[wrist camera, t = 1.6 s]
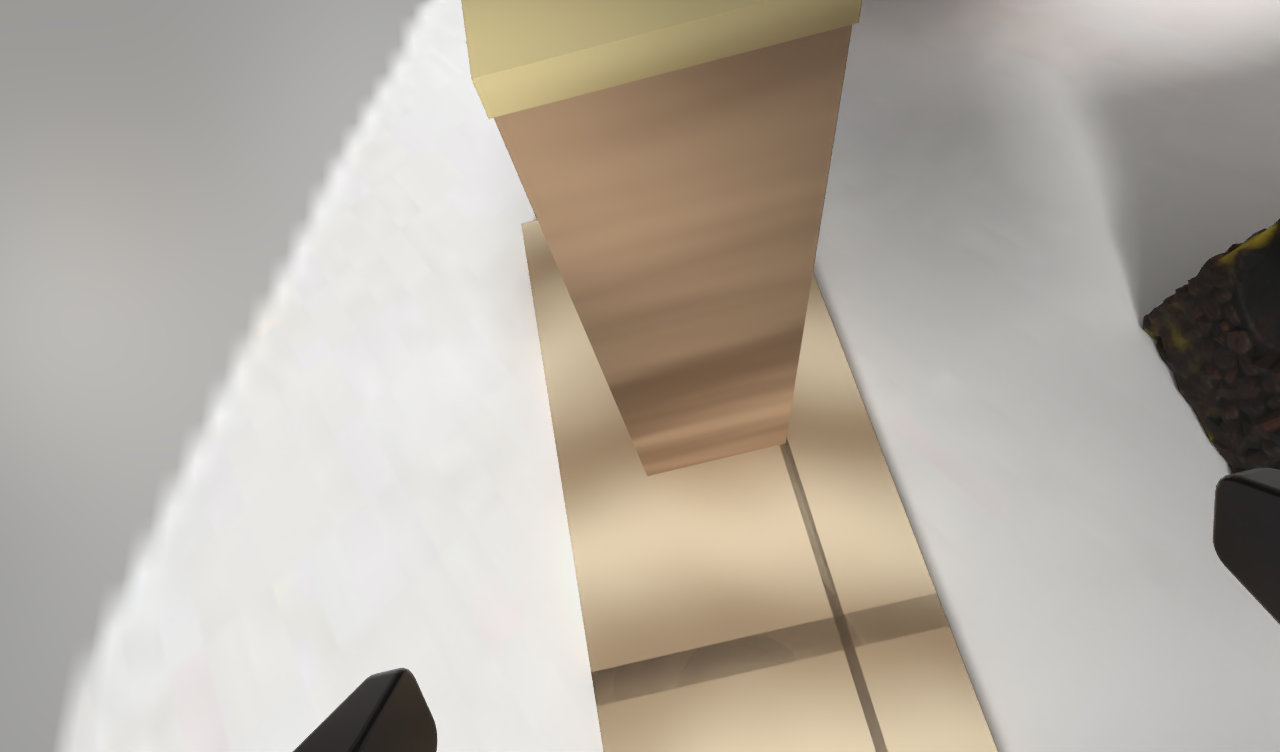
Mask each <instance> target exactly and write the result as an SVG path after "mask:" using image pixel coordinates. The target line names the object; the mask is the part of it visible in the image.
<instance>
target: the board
mask: <svg viewBox="0 0 1280 752" xmlns="http://www.w3.org/2000/svg"><path fill="white" fill-rule="evenodd" d="M522 231H523V237H524V244H525V250H526V257H527V263H528V269H529V276H530V282H531V289H532V295H533V302H534V308H535V314H536V321H537V327H538V334H539V340H540V346H541V353H542V359H543V366H544V372H545V379H546V385H547V391H548V398H549V404H550V411H551V417H552V423H553V430H554V436H555V443H556V449H557V456H558V462H559V468H560V475H561V481H562V488H563V494H564V501H565V507H566V513H567V520H568V526H569V533H570V539H571V545H572V552H573V558H574V565H575V571H576V578H577V584H578V590H579V597H580V603H581V610H582V616H583V622H584V629H585V635H586V642H587V648H588V655H589V661H590V667H591V674H592V680H593V687H594V693H595V700H596V706H597V712H598V719H599V725H600V732H601V738H602V744H603V751H604V752H998V751H997V748H996V746H995V743H994V741H993V738H992V736H991V733H990V730H989V728H988V725H987V723H986V720H985V717H984V715H983V712H982V710H981V707H980V704H979V702H978V699H977V697H976V694H975V691H974V689H973V686H972V684H971V681H970V678H969V676H968V673H967V671H966V668H965V666H964V663H963V660H962V658H961V655H960V653H959V650H958V647H957V645H956V642H955V640H954V637H953V634H952V632H951V629H950V627H949V624H948V621H947V619H946V616H945V614H944V611H943V608H942V606H941V603H940V601H939V598H938V596H937V593H936V590H935V588H934V585H933V583H932V580H931V577H930V575H929V572H928V570H927V567H926V564H925V562H924V559H923V557H922V554H921V551H920V549H919V546H918V544H917V541H916V538H915V536H914V533H913V531H912V528H911V526H910V523H909V520H908V518H907V515H906V513H905V510H904V507H903V505H902V502H901V500H900V497H899V494H898V492H897V489H896V487H895V484H894V481H893V479H892V476H891V474H890V471H889V468H888V466H887V463H886V461H885V458H884V455H883V453H882V450H881V448H880V445H879V443H878V440H877V437H876V435H875V432H874V430H873V427H872V424H871V422H870V419H869V417H868V414H867V411H866V409H865V406H864V404H863V401H862V398H861V396H860V393H859V391H858V388H857V385H856V383H855V380H854V378H853V375H852V373H851V370H850V367H849V365H848V362H847V360H846V357H845V354H844V352H843V349H842V347H841V344H840V341H839V339H838V336H837V334H836V331H835V328H834V326H833V323H832V321H831V318H830V315H829V313H828V310H827V308H826V305H825V303H824V300H823V297H822V295H821V292H820V290H819V287H818V284H817V282H816V279H815V277H814V274H812V280H811V287H810V293H809V299H808V305H807V312H806V318H805V324H804V330H803V337H802V343H801V349H800V355H799V362H798V368H797V374H796V381H795V387H794V393H793V399H792V406H791V412H790V418H789V424H788V431H787V437H786V443H785V444H780V445H776V446H772V447H768V448H764V449H760V450H755V451H751V452H747V453H743V454H739V455H735V456H730V457H726V458H722V459H718V460H714V461H709V462H705V463H701V464H697V465H693V466H689V467H684V468H680V469H676V470H672V471H668V472H664V473H659V474H655V475H651V476H647V474H646V472H645V470H644V467H643V465H642V463H641V460H640V458H639V456H638V453H637V451H636V449H635V446H634V444H633V442H632V439H631V437H630V435H629V432H628V430H627V428H626V425H625V423H624V421H623V418H622V416H621V414H620V411H619V409H618V407H617V404H616V402H615V400H614V397H613V395H612V393H611V390H610V388H609V386H608V383H607V381H606V379H605V376H604V374H603V372H602V369H601V367H600V365H599V362H598V360H597V358H596V355H595V353H594V351H593V348H592V346H591V344H590V341H589V339H588V337H587V334H586V332H585V330H584V327H583V325H582V323H581V320H580V318H579V316H578V313H577V311H576V309H575V306H574V304H573V302H572V299H571V297H570V295H569V292H568V290H567V288H566V285H565V283H564V281H563V278H562V276H561V274H560V271H559V269H558V267H557V264H556V262H555V260H554V257H553V255H552V253H551V250H550V248H549V246H548V243H547V241H546V239H545V236H544V234H543V232H542V229H541V227H540V225H539V222H538V220H535V221H531V222H527V223H523V224H522Z"/></svg>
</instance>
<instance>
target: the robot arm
mask: <svg viewBox="0 0 1280 752" xmlns="http://www.w3.org/2000/svg"><path fill="white" fill-rule="evenodd" d="M1213 544H1214V548H1215V550H1216V553H1217V555H1218V557H1219V558H1220V560H1221V561H1222V563H1223V564H1224V565H1225V566H1226V568H1227V569H1228V570H1229V571H1230V572H1231V573H1232V574H1233V575H1234V576H1235V577H1236V578H1237V579H1238V580H1239V581H1240V582H1241V584H1242V585H1243V586H1244V587H1245V588H1246V589H1247V590H1248V591H1249V592H1250V593H1251V594H1252V595H1253V596H1254V597H1255V599H1256V600H1257V601H1258V602H1259V603H1260V604H1261V605H1262V606H1263V607H1264V608H1265V609H1266V610H1267V611H1268V612H1269V613H1270V615H1271V616H1272V617H1273V618H1274V619H1275V620H1276V621H1277V622H1278V623H1279V624H1280V470H1278V469H1273V468H1255V469H1251V470H1247V471H1242V472H1238V473H1234V474H1230V475H1227V476H1225V477H1223V478H1221V479H1220V481H1219V482H1218V484H1217V486H1216V490H1215V507H1214V525H1213ZM436 751H437V731H436V726H435V722H434V719H433V717H432V714H431V712H430V710H429V708H428V706H427V703H426V701H425V699H424V697H423V695H422V692H421V690H420V688H419V686H418V684H417V681H416V679H415V677H414V676H413V674H412V673H411V672H410V671H409V670H408V669H405V668H398V669H394V670H390V671H386V672H381V673H377V674H374V675H371V676H370V677H368V678H367V679H366V680H365V681H364V682H363V683H362V684H361V685H360V686H359V687H358V688H357V689H356V690H355V691H354V692H353V693H352V694H351V695H350V696H349V697H348V698H347V699H346V700H345V701H344V702H343V703H342V704H341V705H340V706H339V707H338V708H337V709H336V710H335V711H334V712H333V713H332V714H331V715H330V716H329V717H328V718H326V719H325V720H324V721H323V722H322V723H321V724H320V725H319V726H318V727H317V728H316V729H315V730H314V731H313V732H312V733H311V734H310V735H309V736H308V737H307V738H306V739H305V740H304V741H303V742H302V743H301V744H300V745H299V746H298V747H297V748H296V749H295V750H294V751H293V752H436Z"/></svg>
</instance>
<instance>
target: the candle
mask: <svg viewBox="0 0 1280 752" xmlns="http://www.w3.org/2000/svg"><path fill="white" fill-rule="evenodd" d="M1143 329H1144V330H1145V331H1146V332H1147V333H1148V334H1149V335H1150V336H1151V337H1152V338H1154V339H1155V340H1156V341H1157V347H1158V350H1159V352H1160V355H1161V357H1162V359H1163V360H1164V361H1165V363H1166V364H1167V365H1168V366H1169V367H1170V368H1171V369H1172V370H1173V371H1174V374H1175V378H1176V381H1177V384H1178V388H1179V391H1180V392H1181V394H1182V395H1183V396H1184V397H1185V399H1186V400H1187V401H1188V403H1189V404H1190V405H1191V406H1192V408H1193V409H1194V410H1195V412H1196V414H1197V416H1198V417H1199V419H1200V421H1201V423H1202V425H1203V427H1204V429H1205V431H1206V433H1207V435H1208V437H1209V438H1210V440H1211V442H1212V443H1213V444H1214V445H1215V447H1216V448H1217V449H1218V450H1219V452H1220V453H1221V454H1222V456H1223V457H1224V458H1225V459H1226V461H1227V462H1228V463H1229V464H1230V466H1231V467H1232V474H1234V473H1238V472H1242V471H1247V470H1251V469H1255V468H1273V469H1278V470H1280V219H1279V220H1278V221H1277V222H1276V223H1274V224H1273V225H1272V226H1271V227H1270V228H1268V229H1263V230H1261V231H1259V232H1257V233H1255V234H1253V235H1252V236H1251V237H1250V238H1248V239H1247V240H1246V241H1245V242H1244V243H1241V244H1233V245H1232V246H1231V247H1230V248H1229V249H1228V250H1227V251H1226V253H1222V254H1218V255H1216V256H1214V257H1212V258H1211V259H1209V260H1208V261H1207V262H1206V263H1205V265H1204V266H1203V267H1202V269H1201V270H1200V272H1199V273H1198V275H1197V276H1196V277H1194V278H1192V279H1190V280H1188V284H1187V285H1185V286H1183V287H1181V288H1179V289H1177V290H1176V293H1175V294H1174V295H1172V296H1170V297H1168V298H1166V299H1165V300H1164V302H1163V304H1161V305H1160V306H1158V307H1157V308H1154V310H1153V311H1152V312H1151V313H1150V314H1148V315H1145V317H1144V320H1143Z"/></svg>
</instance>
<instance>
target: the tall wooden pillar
mask: <svg viewBox="0 0 1280 752" xmlns="http://www.w3.org/2000/svg"><path fill="white" fill-rule="evenodd" d="M461 2H462V10H463V17H464V25H465V33H466V40H467V48H468V56H469V64H470V71H471V79H472V81H473V84H474V86H475V88H476V90H477V93H478V95H479V97H480V100H481V102H482V104H483V106H484V109H485V111H486V113H487V116H488V118H489V119H491V118H494V120H495V122H496V124H497V127H498V129H499V131H500V134H501V136H502V138H503V141H504V143H505V145H506V148H507V150H508V152H509V155H510V157H511V159H512V162H513V164H514V166H515V169H516V171H517V173H518V176H519V178H520V180H521V183H522V185H523V187H524V190H525V192H526V194H527V197H528V199H529V201H530V204H531V206H532V208H533V211H534V213H535V215H536V218H537V220H538V222H539V225H540V227H541V229H542V232H543V234H544V236H545V239H546V241H547V243H548V246H549V248H550V250H551V253H552V255H553V257H554V260H555V262H556V264H557V267H558V269H559V271H560V274H561V276H562V278H563V281H564V283H565V285H566V288H567V290H568V292H569V295H570V297H571V299H572V302H573V304H574V306H575V309H576V311H577V313H578V316H579V318H580V320H581V323H582V325H583V327H584V330H585V332H586V334H587V337H588V339H589V341H590V344H591V346H592V348H593V351H594V353H595V355H596V358H597V360H598V362H599V365H600V367H601V369H602V372H603V374H604V376H605V379H606V381H607V383H608V386H609V388H610V390H611V393H612V395H613V397H614V400H615V402H616V404H617V407H618V409H619V411H620V414H621V416H622V418H623V421H624V423H625V425H626V428H627V430H628V432H629V435H630V437H631V439H632V442H633V444H634V446H635V449H636V451H637V453H638V456H639V458H640V460H641V463H642V465H643V467H644V470H645V472H646V474H647V476H651V475H655V474H659V473H664V472H668V471H672V470H676V469H680V468H684V467H689V466H693V465H697V464H701V463H705V462H709V461H714V460H718V459H722V458H726V457H730V456H735V455H739V454H743V453H747V452H751V451H755V450H760V449H764V448H768V447H772V446H776V445H780V444H785V443H786V437H787V431H788V424H789V418H790V412H791V406H792V399H793V393H794V387H795V381H796V374H797V368H798V362H799V355H800V349H801V343H802V337H803V330H804V324H805V318H806V312H807V305H808V299H809V293H810V287H811V280H812V274H813V268H814V261H815V255H816V249H817V243H818V236H819V230H820V224H821V218H822V211H823V205H824V199H825V193H826V186H827V180H828V174H829V167H830V161H831V155H832V149H833V142H834V136H835V130H836V124H837V117H838V111H839V105H840V98H841V92H842V86H843V80H844V73H845V67H846V61H847V55H848V48H849V42H850V36H851V30H852V24H856V23H858V22H859V16H860V10H861V4H862V0H461Z"/></svg>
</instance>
